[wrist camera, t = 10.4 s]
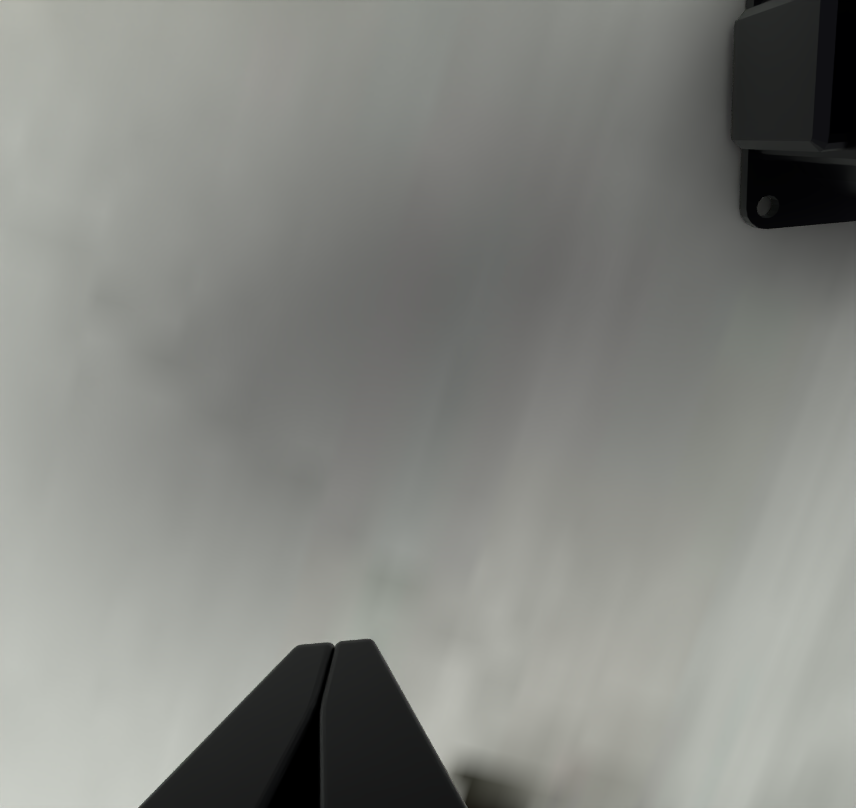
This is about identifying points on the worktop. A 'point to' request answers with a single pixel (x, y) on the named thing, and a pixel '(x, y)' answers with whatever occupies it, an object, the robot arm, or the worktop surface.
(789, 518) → the worktop surface
